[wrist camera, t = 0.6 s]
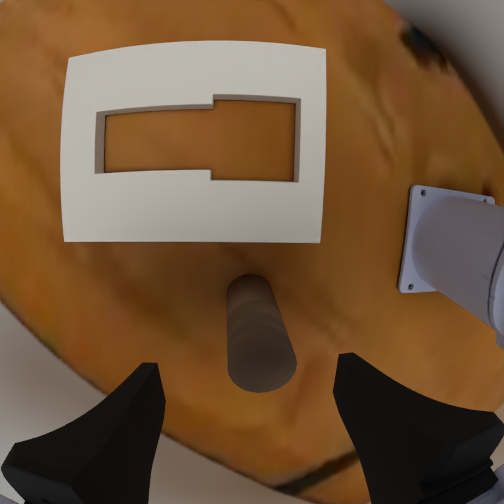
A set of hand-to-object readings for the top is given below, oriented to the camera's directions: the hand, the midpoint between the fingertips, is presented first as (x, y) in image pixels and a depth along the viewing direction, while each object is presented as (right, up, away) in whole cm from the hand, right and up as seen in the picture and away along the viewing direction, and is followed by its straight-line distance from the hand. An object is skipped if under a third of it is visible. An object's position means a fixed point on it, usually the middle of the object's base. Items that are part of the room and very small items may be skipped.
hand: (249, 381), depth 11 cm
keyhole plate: (-4, +12, +6) cm, 14 cm away
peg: (0, +2, +9) cm, 9 cm away
